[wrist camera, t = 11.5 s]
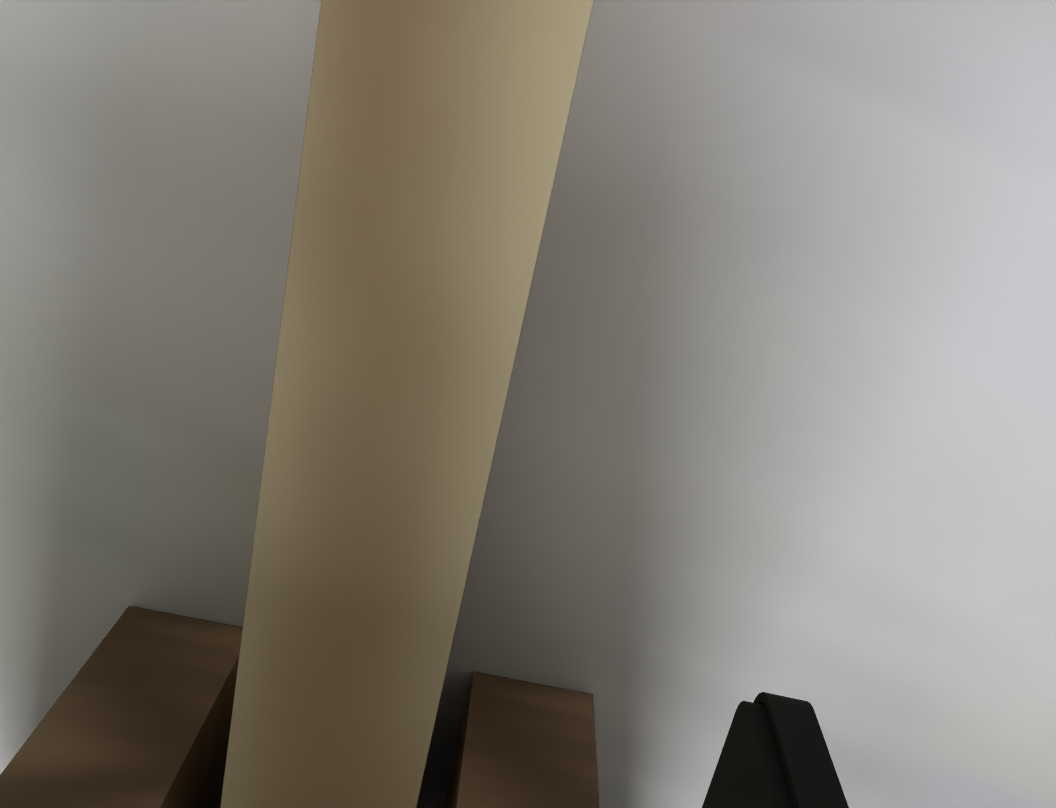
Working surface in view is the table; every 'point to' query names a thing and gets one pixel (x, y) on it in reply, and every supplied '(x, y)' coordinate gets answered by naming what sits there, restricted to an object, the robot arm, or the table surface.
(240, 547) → the table surface
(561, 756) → the wooden slotted stand
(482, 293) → the bed rail
